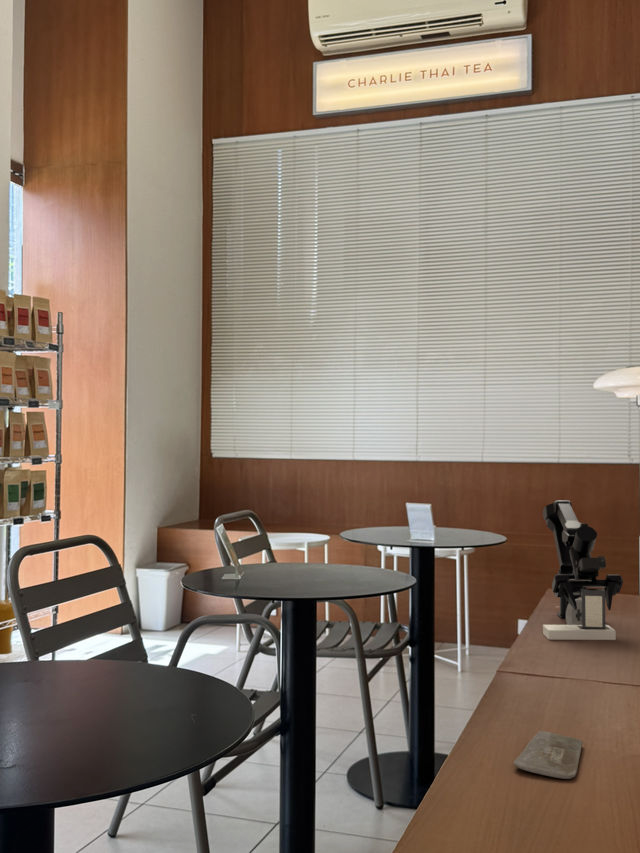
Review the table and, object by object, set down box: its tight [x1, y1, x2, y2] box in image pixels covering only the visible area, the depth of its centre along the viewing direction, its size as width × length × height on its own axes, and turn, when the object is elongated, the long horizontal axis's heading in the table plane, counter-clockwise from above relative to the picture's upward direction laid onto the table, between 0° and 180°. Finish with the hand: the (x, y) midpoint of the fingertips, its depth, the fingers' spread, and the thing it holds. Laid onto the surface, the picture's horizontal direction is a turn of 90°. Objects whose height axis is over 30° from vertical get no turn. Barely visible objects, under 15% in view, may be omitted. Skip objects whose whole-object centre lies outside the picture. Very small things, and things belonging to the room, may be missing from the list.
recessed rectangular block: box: [542, 624, 617, 641], centre depth 236 cm, size 7×18×2 cm, turn 87°
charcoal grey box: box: [580, 587, 606, 630], centre depth 236 cm, size 3×6×12 cm, turn 78°
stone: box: [513, 730, 584, 780], centre depth 146 cm, size 18×3×10 cm
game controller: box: [565, 597, 582, 625], centre depth 251 cm, size 20×2×8 cm, turn 137°
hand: (592, 609), depth 236 cm, fingers open, 9 cm apart
